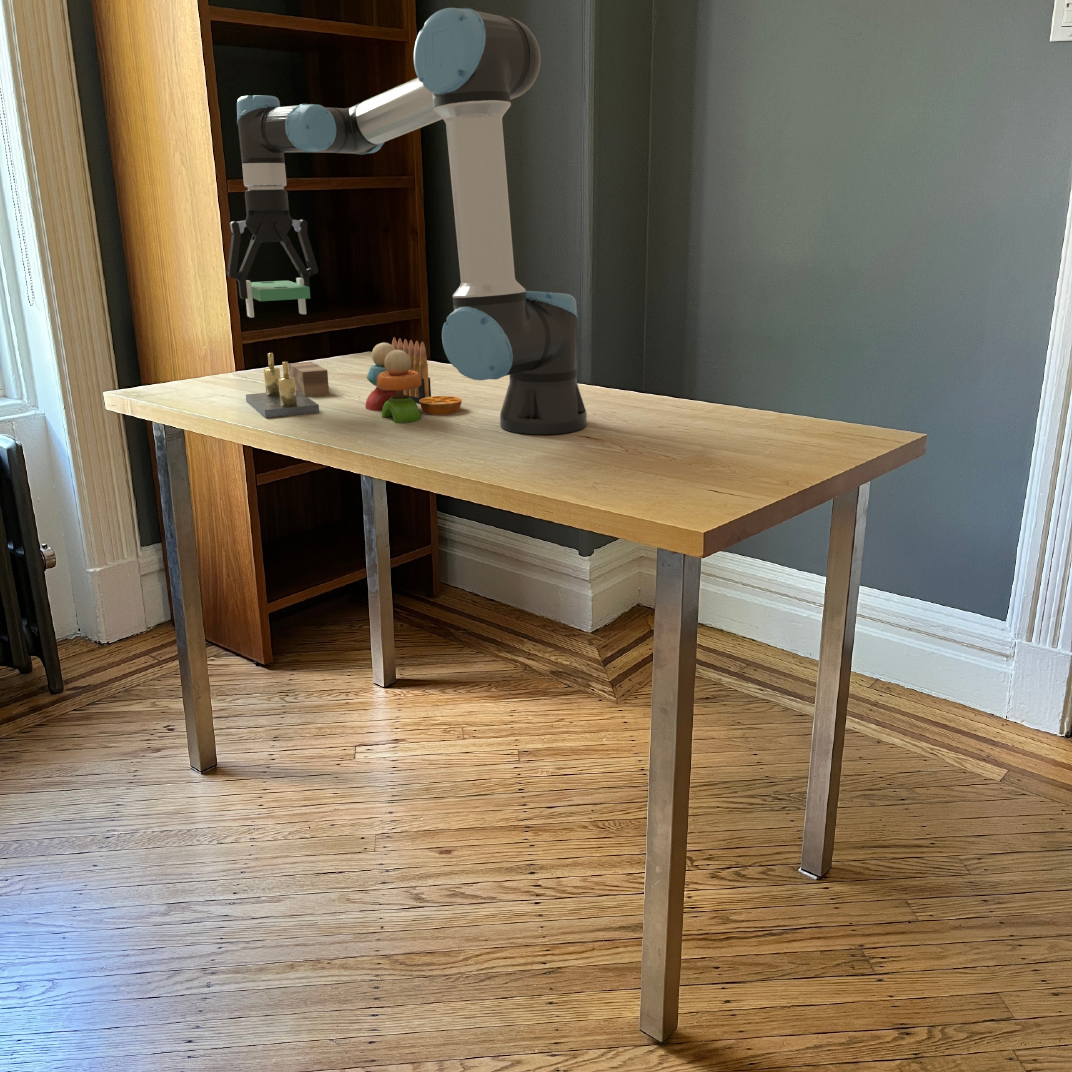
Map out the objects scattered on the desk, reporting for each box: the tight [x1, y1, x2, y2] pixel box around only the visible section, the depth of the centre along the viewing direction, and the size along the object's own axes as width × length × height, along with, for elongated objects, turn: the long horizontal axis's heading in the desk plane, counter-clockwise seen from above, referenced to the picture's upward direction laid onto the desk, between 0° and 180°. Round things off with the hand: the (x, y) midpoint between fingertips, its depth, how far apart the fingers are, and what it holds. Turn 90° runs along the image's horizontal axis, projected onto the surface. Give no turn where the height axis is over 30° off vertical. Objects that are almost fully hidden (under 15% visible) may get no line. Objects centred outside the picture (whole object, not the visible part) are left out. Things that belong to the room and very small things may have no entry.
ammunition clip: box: [391, 337, 432, 405], centre depth 203 cm, size 11×2×12 cm, turn 45°
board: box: [251, 280, 311, 302], centre depth 195 cm, size 17×9×2 cm, turn 25°
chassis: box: [245, 352, 320, 419], centre depth 199 cm, size 17×10×10 cm, turn 26°
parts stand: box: [288, 361, 330, 397], centre depth 215 cm, size 12×5×5 cm, turn 26°
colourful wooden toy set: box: [365, 342, 463, 424], centre depth 194 cm, size 18×17×12 cm
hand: (277, 315), depth 196 cm, fingers closed on board, 9 cm apart
